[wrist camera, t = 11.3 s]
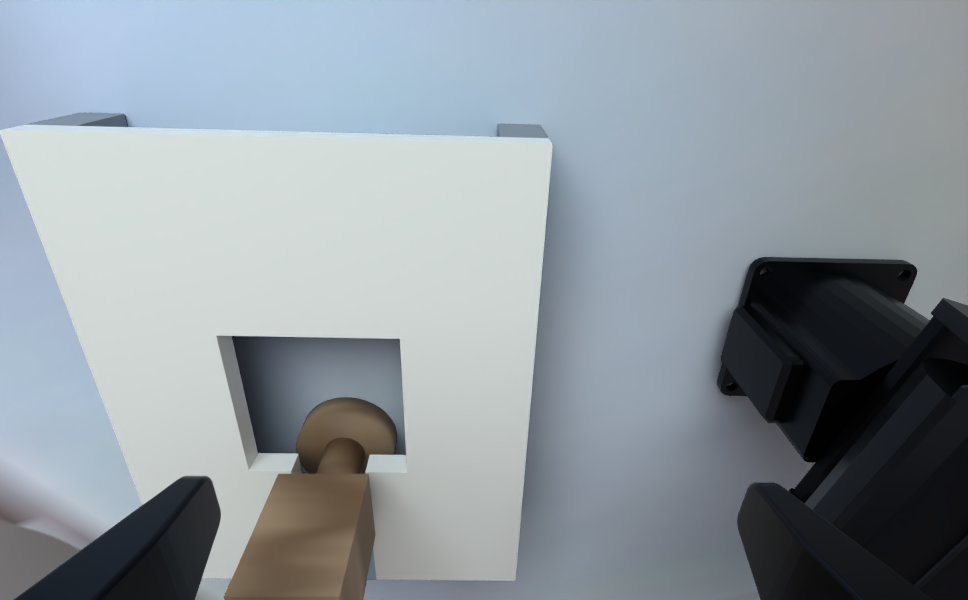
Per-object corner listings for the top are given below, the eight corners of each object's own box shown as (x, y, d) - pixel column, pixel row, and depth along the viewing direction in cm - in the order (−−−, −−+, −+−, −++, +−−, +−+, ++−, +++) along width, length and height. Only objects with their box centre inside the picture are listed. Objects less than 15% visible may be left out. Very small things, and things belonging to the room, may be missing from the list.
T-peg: (394, 397, 24) (353, 586, 16) (399, 469, 26) (365, 669, 18) (297, 397, 24) (205, 587, 16) (310, 468, 26) (234, 670, 18)
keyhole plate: (540, 125, 19) (552, 144, 15) (511, 519, 28) (515, 580, 25) (80, 112, 18) (-2, 130, 15) (205, 515, 27) (170, 577, 24)
